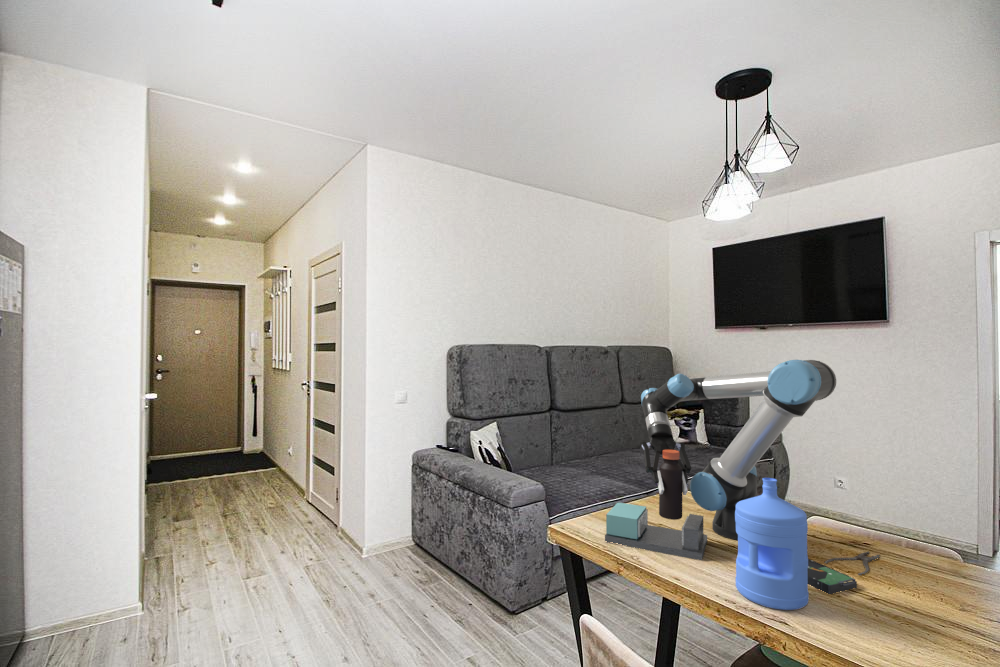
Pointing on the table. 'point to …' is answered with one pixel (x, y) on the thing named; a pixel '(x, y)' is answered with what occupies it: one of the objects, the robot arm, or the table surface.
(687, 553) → the vise base
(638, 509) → the block
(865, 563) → the pliers
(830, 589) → the disk drive
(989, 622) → the table surface
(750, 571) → the water jug
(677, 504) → the vinegar
